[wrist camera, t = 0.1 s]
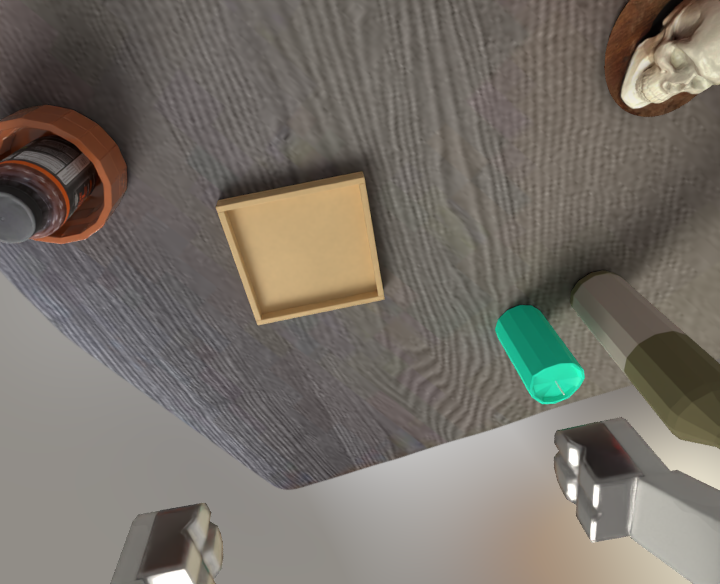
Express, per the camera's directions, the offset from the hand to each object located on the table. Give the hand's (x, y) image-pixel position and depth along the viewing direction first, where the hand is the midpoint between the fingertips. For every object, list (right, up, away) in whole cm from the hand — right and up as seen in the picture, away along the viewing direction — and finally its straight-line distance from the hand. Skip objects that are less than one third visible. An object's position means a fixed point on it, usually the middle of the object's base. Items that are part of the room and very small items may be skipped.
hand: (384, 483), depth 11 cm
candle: (+19, 0, +49) cm, 53 cm away
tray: (-6, +9, +40) cm, 41 cm away
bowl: (-27, +16, +33) cm, 45 cm away
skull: (+27, +27, +33) cm, 50 cm away
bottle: (+27, +5, +48) cm, 55 cm away
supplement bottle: (-27, +16, +33) cm, 45 cm away
